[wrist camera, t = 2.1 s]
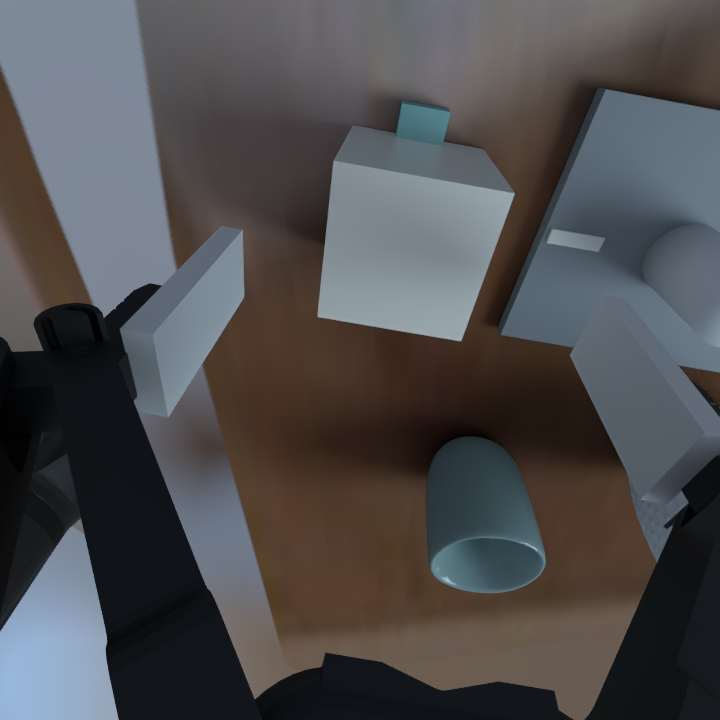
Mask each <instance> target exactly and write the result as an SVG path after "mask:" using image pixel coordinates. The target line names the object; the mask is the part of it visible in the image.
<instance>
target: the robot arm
mask: <svg viewBox="0 0 720 720" xmlns="http://www.w3.org/2000/svg"><path fill="white" fill-rule="evenodd" d="M243 298H244V265H243V230H241V229H236V228H230V227H225V226H221V227H220V228H219V229H218V230H217V231H216V232H215V233H214V234H213V235H212V236H211V237H210V238H209V239H208V240H207V241H206V242H205V243H204V244H203V245H202V246H201V247H200V248H199V249H198V250H197V251H196V252H195V253H194V254H193V255H192V256H191V257H190V258H189V259H188V260H187V261H186V262H185V263H184V264H183V265H182V266H181V267H180V268H179V269H178V270H177V271H176V272H175V273H174V274H173V275H172V276H171V278H169V280H168V281H167V282H166V283H165V284H164V285H163V286H160V285H155V284H147V285H145V286H143V287H140V288H139V289H136V290H134V291H133V292H132V293H131V294H130V295H129V296H127V297H126V298H125V299H124V302H121V303H120V304H119V305H118V306H117V307H116V309H114V310H112V311H111V312H110V313H109V314H108V315H107V316H106V317H105V318H103V314H102V312H101V311H100V310H99V309H98V308H97V307H95V306H92V305H90V304H82V303H70V304H62V305H58V306H54V307H51V308H49V309H47V310H45V311H43V312H41V313H40V314H39V315H38V316H37V317H36V318H35V321H34V327H35V330H36V333H37V335H38V338H39V340H40V343H41V345H42V348H43V350H44V351H26V352H12V351H11V349H10V347H9V345H8V343H7V341H6V340H4V339H3V338H2V337H0V631H1V629H2V628H3V626H4V625H5V623H6V622H7V620H8V619H9V617H10V616H11V614H12V613H13V611H14V610H15V608H16V607H17V605H18V604H19V602H20V601H21V599H22V597H23V596H24V595H25V593H26V592H27V590H28V589H29V587H30V585H31V584H32V582H33V581H34V579H35V578H36V576H37V575H38V573H39V572H40V570H41V569H42V567H43V566H44V564H45V563H46V561H47V559H48V558H49V556H50V555H51V553H52V552H53V551H54V549H55V548H56V546H57V545H58V543H59V542H60V540H61V539H62V537H63V536H64V535H65V533H66V532H67V530H68V529H69V528H70V527H71V526H72V525H73V524H75V523H76V522H77V521H78V520H79V519H81V520H82V524H83V529H84V533H85V537H86V542H87V547H88V551H89V556H90V560H91V564H92V570H93V574H94V578H95V583H96V588H97V592H98V596H99V600H100V606H101V610H102V615H103V619H104V624H105V628H106V634H107V646H106V657H107V664H108V670H109V676H110V680H111V685H112V689H113V694H114V699H115V704H116V709H117V713H118V718H119V720H573V719H572V718H570V717H568V716H567V715H565V714H564V713H562V712H561V711H559V710H558V705H557V701H556V696H555V692H554V691H552V690H546V689H539V688H534V687H528V686H522V685H516V684H510V683H504V682H494V683H488V684H482V685H476V686H470V687H464V688H459V689H453V690H446V691H443V690H438V689H435V688H433V687H431V686H429V685H427V684H425V683H423V682H421V681H419V680H417V679H415V678H413V677H411V676H409V675H407V674H405V673H403V672H401V671H399V670H397V669H395V668H393V667H391V666H389V665H387V664H385V663H383V662H378V661H372V660H366V659H360V658H354V657H348V656H342V655H336V654H330V653H325V657H324V660H323V664H322V667H319V668H313V669H308V670H304V671H301V672H299V673H295V674H293V675H291V676H289V677H287V678H285V679H283V680H280V681H279V682H277V683H276V684H274V685H273V686H271V687H270V688H268V689H267V690H266V691H264V692H263V693H262V694H261V695H260V696H259V697H257V698H256V699H254V697H253V694H252V692H251V689H250V687H249V684H248V682H247V679H246V677H245V674H244V672H243V669H242V667H241V664H240V662H239V659H238V657H237V654H236V651H235V649H234V647H233V644H232V642H231V639H230V636H229V634H228V631H227V629H226V627H225V624H224V621H223V619H222V616H221V614H220V611H219V609H218V607H217V604H216V602H215V599H214V597H213V595H212V594H211V592H210V591H209V590H208V589H207V587H206V585H205V583H204V580H203V578H202V576H201V573H200V570H199V568H198V565H197V563H196V560H195V558H194V555H193V553H192V550H191V547H190V545H189V542H188V540H187V537H186V535H185V532H184V529H183V527H182V524H181V522H180V519H179V517H178V514H177V512H176V509H175V506H174V504H173V501H172V499H171V496H170V494H169V491H168V489H167V486H166V483H165V481H164V478H163V476H162V473H161V471H160V468H159V466H158V463H157V460H156V458H155V455H154V453H153V450H152V448H151V445H150V443H149V440H148V437H147V435H146V432H145V430H144V427H143V425H142V422H141V420H140V417H139V414H138V412H137V409H136V407H135V404H134V402H133V401H134V400H135V398H136V397H137V402H138V406H139V410H140V412H141V413H146V414H152V415H158V416H163V417H169V415H170V414H171V412H172V410H173V409H174V408H175V406H176V404H177V403H178V401H179V400H180V398H181V396H182V395H183V393H184V392H185V390H186V389H187V387H188V385H189V384H190V382H191V381H192V379H193V377H194V376H195V374H196V373H197V371H198V370H199V368H200V366H201V365H202V363H203V362H204V360H205V358H206V357H207V355H208V354H209V352H210V351H211V349H212V347H213V346H214V344H215V343H216V341H217V339H218V338H219V336H220V335H221V333H222V332H223V330H224V328H225V327H226V325H227V324H228V322H229V320H230V319H231V317H232V316H233V314H234V313H235V311H236V309H237V308H238V306H239V305H240V303H241V301H242V300H243ZM570 357H571V359H572V361H573V363H574V365H575V367H576V369H577V372H578V374H579V376H580V378H581V380H582V382H583V384H584V386H585V388H586V390H587V392H588V394H589V396H590V398H591V400H592V402H593V404H594V406H595V408H596V410H597V412H598V414H599V416H600V418H601V421H602V423H603V425H604V427H605V429H606V431H607V433H608V435H609V437H610V439H611V441H612V443H613V445H614V447H615V449H616V451H617V453H618V455H619V457H620V459H621V461H622V463H623V465H624V467H625V469H626V472H627V474H628V476H629V478H630V480H631V482H632V484H633V486H634V488H635V490H636V492H637V494H638V496H639V498H640V500H645V501H651V502H657V503H663V504H668V503H669V502H670V501H671V500H672V499H673V498H674V497H675V496H677V495H678V494H679V493H680V492H681V491H682V492H683V494H684V496H685V497H686V499H687V501H688V502H689V503H688V504H687V505H686V506H685V507H684V508H682V509H681V510H680V511H679V512H678V513H677V514H676V515H675V516H674V517H673V518H671V519H670V520H669V521H668V522H667V523H666V524H665V525H664V526H663V527H665V528H666V529H668V528H669V527H671V526H673V527H672V530H671V532H670V534H669V537H668V539H667V541H666V543H665V546H664V548H663V550H662V553H661V555H660V557H659V559H658V562H657V564H656V566H655V569H654V571H653V573H652V575H651V578H650V580H649V582H648V584H647V587H646V589H645V591H644V594H643V596H642V598H641V600H640V603H639V605H638V607H637V610H636V612H635V614H634V616H633V619H632V621H631V623H630V626H629V628H628V630H627V632H626V635H625V637H624V640H623V642H622V644H621V646H620V648H619V651H618V653H617V655H616V658H615V660H614V662H613V665H612V667H611V669H610V671H609V674H608V676H607V678H606V681H605V683H604V685H603V688H602V689H601V692H600V694H599V696H598V699H597V701H596V703H595V705H594V707H593V709H592V711H591V712H590V714H589V715H588V716H587V718H586V719H585V720H720V408H719V407H718V406H715V404H716V403H715V402H714V401H713V400H712V399H711V397H710V396H709V395H708V394H707V392H706V391H705V390H703V389H702V388H701V387H699V386H698V385H697V384H696V383H694V382H693V381H692V380H691V379H689V378H688V377H687V376H686V375H685V373H684V372H683V371H682V370H681V368H680V367H679V366H678V365H677V363H676V362H675V361H674V360H673V358H672V357H671V356H670V355H669V353H668V352H667V351H666V350H665V348H664V347H663V346H662V345H661V343H660V342H659V341H658V340H657V338H656V337H655V336H654V335H653V333H652V332H651V331H650V330H649V328H648V327H647V326H646V325H645V324H644V322H643V321H642V320H641V319H640V317H639V316H638V315H637V314H636V312H635V311H634V310H633V309H632V307H631V306H630V305H629V304H628V302H627V301H626V300H625V299H621V298H616V297H610V296H605V295H604V297H603V298H602V300H601V302H600V304H599V305H598V307H597V309H596V310H595V312H594V314H593V316H592V317H591V319H590V321H589V323H588V324H587V326H586V328H585V330H584V331H583V333H582V335H581V336H580V338H579V340H578V342H577V343H576V345H575V347H574V349H573V350H572V352H571V354H570Z"/></svg>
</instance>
